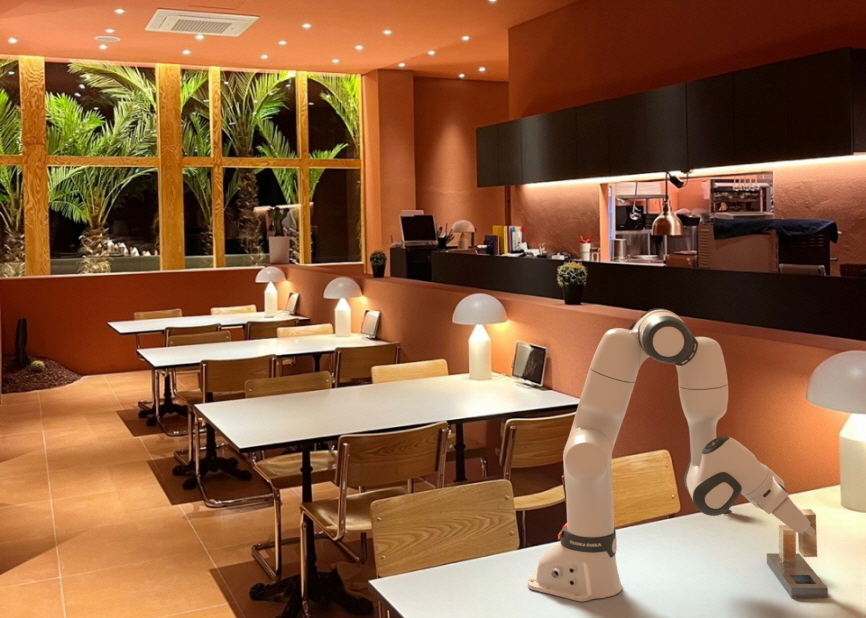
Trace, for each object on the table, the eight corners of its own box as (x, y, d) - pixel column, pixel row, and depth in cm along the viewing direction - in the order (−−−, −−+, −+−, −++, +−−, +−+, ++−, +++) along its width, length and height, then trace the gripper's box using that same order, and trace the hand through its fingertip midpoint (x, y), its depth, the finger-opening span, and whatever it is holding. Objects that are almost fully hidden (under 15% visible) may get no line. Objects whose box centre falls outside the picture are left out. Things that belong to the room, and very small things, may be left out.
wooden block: (803, 557, 205) (802, 514, 204) (798, 550, 209) (797, 509, 208) (817, 556, 205) (815, 514, 204) (811, 550, 209) (810, 509, 208)
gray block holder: (791, 598, 203) (791, 553, 202) (766, 562, 225) (766, 522, 224) (827, 598, 202) (827, 553, 201) (799, 563, 224) (799, 522, 223)
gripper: (745, 486, 217) (787, 524, 217) (765, 512, 197) (812, 554, 197) (763, 467, 217) (806, 506, 216) (785, 492, 196) (833, 534, 196)
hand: (809, 529), depth 206 cm, fingers closed on wooden block, 4 cm apart
